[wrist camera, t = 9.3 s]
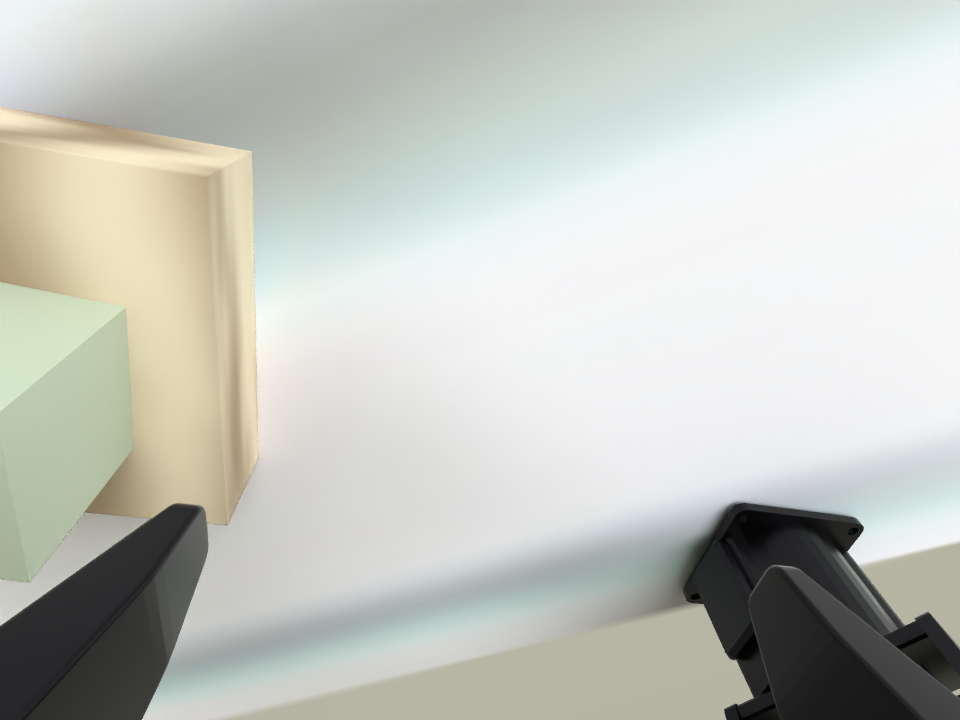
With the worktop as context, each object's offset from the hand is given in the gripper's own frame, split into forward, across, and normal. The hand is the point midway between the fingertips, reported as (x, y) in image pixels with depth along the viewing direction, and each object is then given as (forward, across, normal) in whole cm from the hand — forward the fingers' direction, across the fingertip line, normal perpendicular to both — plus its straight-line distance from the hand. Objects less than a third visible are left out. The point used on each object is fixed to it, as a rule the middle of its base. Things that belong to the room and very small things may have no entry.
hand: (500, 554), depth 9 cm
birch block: (+12, +12, +3) cm, 18 cm away
